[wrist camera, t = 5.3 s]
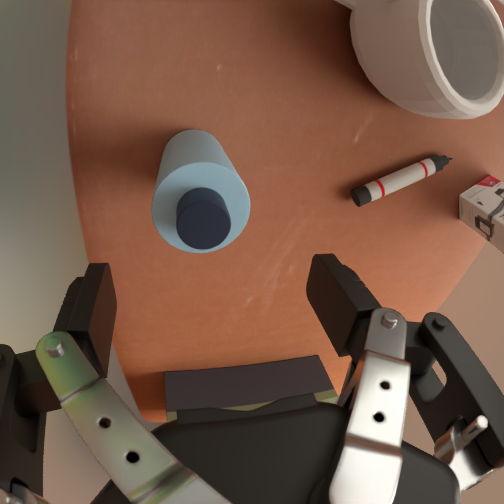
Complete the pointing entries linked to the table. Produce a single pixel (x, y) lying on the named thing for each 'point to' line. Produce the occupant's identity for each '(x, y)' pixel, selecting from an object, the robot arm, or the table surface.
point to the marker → (398, 180)
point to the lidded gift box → (246, 385)
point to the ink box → (485, 210)
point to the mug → (431, 54)
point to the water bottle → (198, 194)
